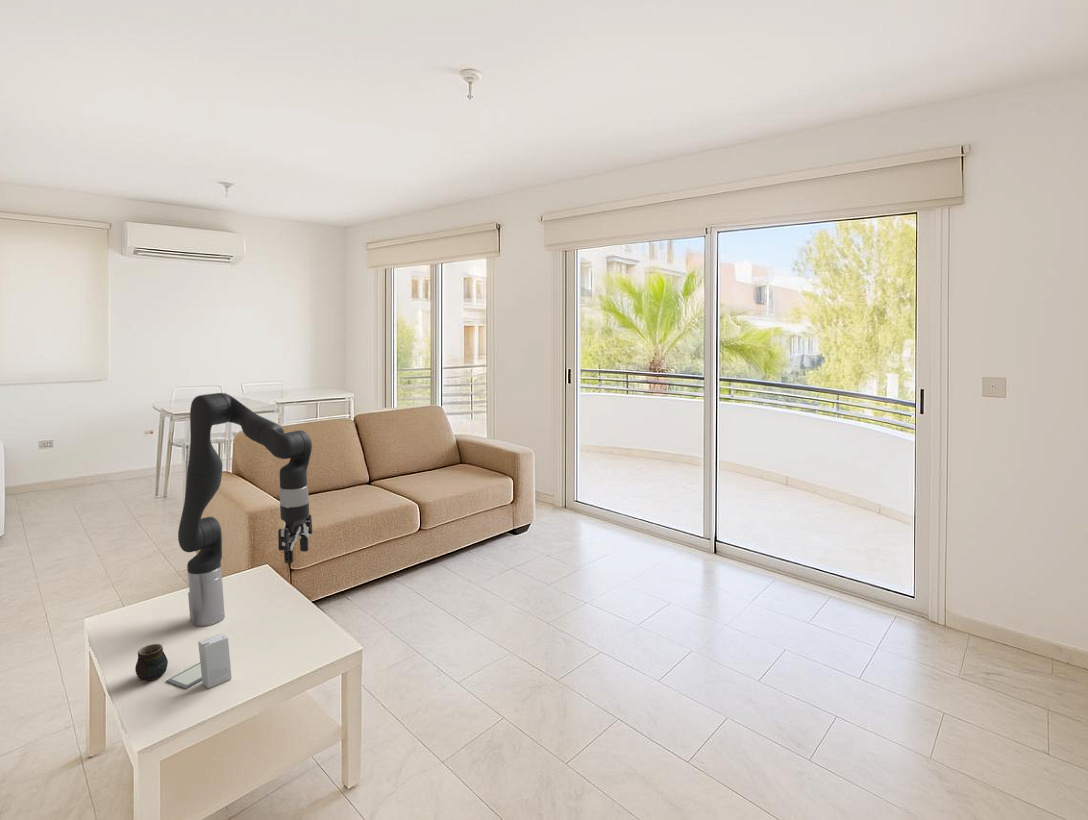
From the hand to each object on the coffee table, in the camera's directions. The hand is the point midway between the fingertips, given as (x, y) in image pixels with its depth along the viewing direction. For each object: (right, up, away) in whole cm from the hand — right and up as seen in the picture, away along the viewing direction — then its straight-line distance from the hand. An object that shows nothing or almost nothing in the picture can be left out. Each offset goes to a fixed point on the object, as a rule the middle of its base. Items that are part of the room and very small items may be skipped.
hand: (296, 556), depth 170 cm
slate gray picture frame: (-24, -30, -9) cm, 39 cm away
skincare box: (-16, -30, -12) cm, 36 cm away
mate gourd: (-34, -30, -10) cm, 47 cm away
